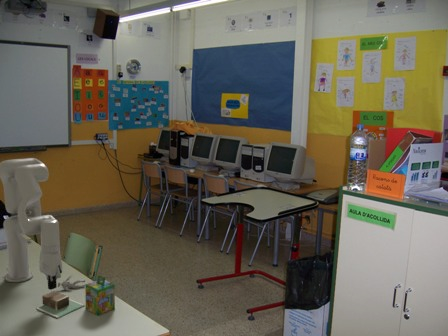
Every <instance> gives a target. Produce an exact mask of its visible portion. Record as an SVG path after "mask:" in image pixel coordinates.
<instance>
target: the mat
mask: <svg viewBox="0 0 448 336" xmlns="http://www.w3.org/2000/svg"><path fill="white" fill-rule="evenodd" d="M83 307H85V304H83V303H81V302H79V301H76V300H73V299H72V298H69V305H68V306H66V307H64V308H62V309H60V310H56V309H53V308H51V307H48V306H46V305H43V304H42V305H41V306H39V307H36V308H35V309H36V310H37V311H39V312H41V313H43V314H46V315H49V316H51V317H53V318H55V319H58V320H59V318H62V317H64V316H65V315H68V314H70V313H72V312H75V311H76V310H78V309H81V308H83Z"/></svg>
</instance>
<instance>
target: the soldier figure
mask: <svg viewBox="0 0 448 336" xmlns="http://www.w3.org/2000/svg"><path fill="white" fill-rule="evenodd" d="M71 278H72V275H70V276H69V277H67V278H66V279H65V280H63V281H62V282H58V283H57V287H58V288H60V287H62V289H63V290H65V291H66V292H72V291H73V290H72V289H76V288H77V289H78V288H82V287H83V288H85V284H84V285H83V284H82V285H80V284H79V283H85V282H86V279H84V280H79V279H78V280H75V281H73V282H70V281H69V280H70V279H71Z"/></svg>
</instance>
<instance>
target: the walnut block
mask: <svg viewBox="0 0 448 336" xmlns="http://www.w3.org/2000/svg"><path fill="white" fill-rule="evenodd" d="M41 297H42V298H41V299H42V306H43V305H46V306H48V307H51V308H53V309H56V310H60V309H62V308H64V307H66V306H68V305H69V299H70V297H69V295H67V294H63V293H61V292H59V291H55V290H53V291H52V290H51V291H50V292H48V293H46V294H43V295H42V296H41Z"/></svg>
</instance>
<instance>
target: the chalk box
mask: <svg viewBox="0 0 448 336" xmlns="http://www.w3.org/2000/svg"><path fill="white" fill-rule="evenodd" d="M84 285H85V287H84V288H85V310H87V311H89V312H91V313H92V314H94V315H96V316H101V315H103V314H106V313H109V312H110V311H113V310H115V308H116V304H115V303H116V299H115V295H116V292H115V291H116V290H115V289H116V285H115V283H114V282H111V281H109V280H107V279H106V277H105V276H103V275H100V274H99V275H97V280H94V281H91V282H88V283H86V284H84Z"/></svg>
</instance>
